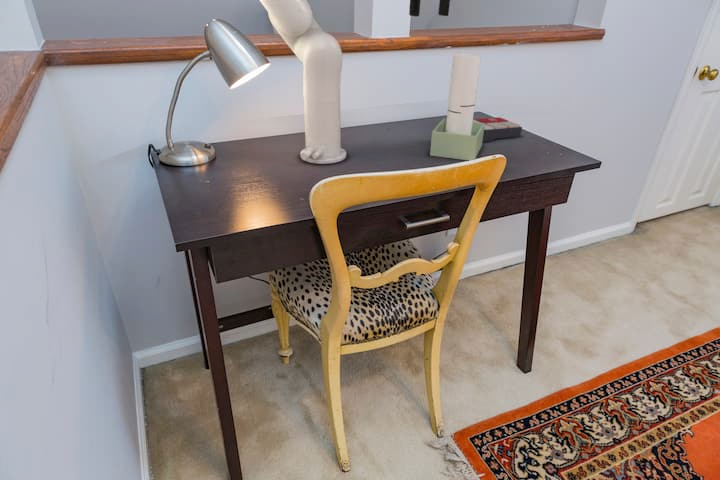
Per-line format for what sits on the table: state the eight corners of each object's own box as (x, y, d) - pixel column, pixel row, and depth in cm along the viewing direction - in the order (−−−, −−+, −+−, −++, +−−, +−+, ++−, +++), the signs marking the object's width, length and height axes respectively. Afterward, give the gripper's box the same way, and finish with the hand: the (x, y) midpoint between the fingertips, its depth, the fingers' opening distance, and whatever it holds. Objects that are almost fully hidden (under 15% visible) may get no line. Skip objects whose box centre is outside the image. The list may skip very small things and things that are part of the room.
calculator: (523, 124, 150) (484, 127, 144) (520, 138, 152) (482, 142, 146) (499, 116, 159) (462, 118, 152) (497, 129, 161) (460, 132, 154)
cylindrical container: (471, 152, 136) (483, 57, 124) (445, 151, 136) (455, 57, 124) (466, 144, 142) (478, 53, 130) (442, 143, 142) (451, 53, 130)
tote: (473, 161, 132) (477, 136, 128) (429, 155, 135) (432, 131, 132) (481, 145, 143) (484, 123, 140) (441, 140, 147) (443, 118, 144)
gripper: (418, -67, 109) (411, 17, 117) (473, -62, 117) (463, 16, 125) (397, -66, 114) (392, 14, 122) (452, -61, 122) (444, 14, 131)
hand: (428, 15), depth 124 cm, fingers open, 9 cm apart
